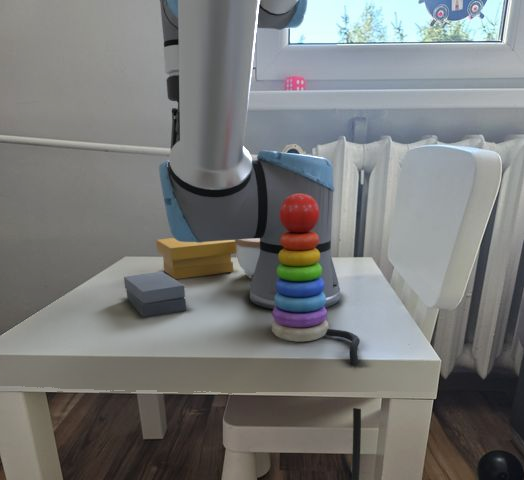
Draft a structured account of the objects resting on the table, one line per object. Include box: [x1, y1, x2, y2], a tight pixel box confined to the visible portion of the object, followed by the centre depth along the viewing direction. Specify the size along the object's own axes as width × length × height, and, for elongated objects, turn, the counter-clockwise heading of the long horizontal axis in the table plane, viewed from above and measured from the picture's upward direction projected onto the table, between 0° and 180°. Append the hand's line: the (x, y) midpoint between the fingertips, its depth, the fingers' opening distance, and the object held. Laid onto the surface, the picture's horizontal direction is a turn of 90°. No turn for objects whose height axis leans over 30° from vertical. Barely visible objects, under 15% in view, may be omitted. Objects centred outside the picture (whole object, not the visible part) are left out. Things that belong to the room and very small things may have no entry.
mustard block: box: [155, 237, 236, 261], centre depth 101 cm, size 14×10×2 cm
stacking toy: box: [271, 193, 330, 343], centre depth 66 cm, size 8×8×19 cm
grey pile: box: [123, 271, 187, 318], centre depth 82 cm, size 11×7×4 cm, turn 27°
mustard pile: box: [162, 254, 234, 280], centre depth 102 cm, size 13×8×4 cm, turn 117°
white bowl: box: [235, 238, 260, 279], centre depth 97 cm, size 11×11×9 cm
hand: (195, 198), depth 98 cm, fingers open, 13 cm apart
